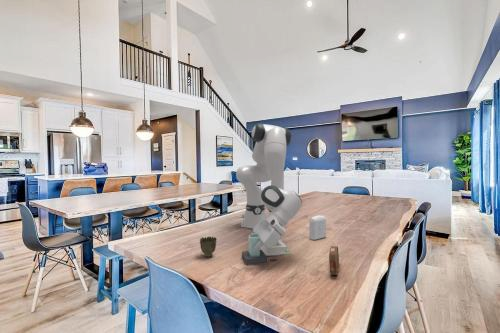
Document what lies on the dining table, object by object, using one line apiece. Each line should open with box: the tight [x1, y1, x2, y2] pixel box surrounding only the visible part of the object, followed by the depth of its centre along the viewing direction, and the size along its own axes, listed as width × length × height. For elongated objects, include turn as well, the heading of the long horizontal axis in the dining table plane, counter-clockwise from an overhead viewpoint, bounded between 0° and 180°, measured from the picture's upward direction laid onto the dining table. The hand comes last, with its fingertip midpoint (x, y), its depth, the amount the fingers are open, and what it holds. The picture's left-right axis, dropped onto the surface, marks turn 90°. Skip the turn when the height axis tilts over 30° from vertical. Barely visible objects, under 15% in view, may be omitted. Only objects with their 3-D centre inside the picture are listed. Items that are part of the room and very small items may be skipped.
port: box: [260, 239, 292, 257], centre depth 123 cm, size 12×12×3 cm
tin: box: [328, 245, 340, 276], centre depth 101 cm, size 15×3×8 cm, turn 158°
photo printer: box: [308, 214, 327, 241], centre depth 141 cm, size 10×4×12 cm, turn 123°
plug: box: [248, 232, 261, 257], centre depth 111 cm, size 4×4×11 cm
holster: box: [241, 249, 268, 266], centre depth 111 cm, size 9×9×2 cm
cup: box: [199, 236, 218, 258], centre depth 116 cm, size 8×7×8 cm
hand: (252, 247), depth 111 cm, fingers closed on plug, 4 cm apart
